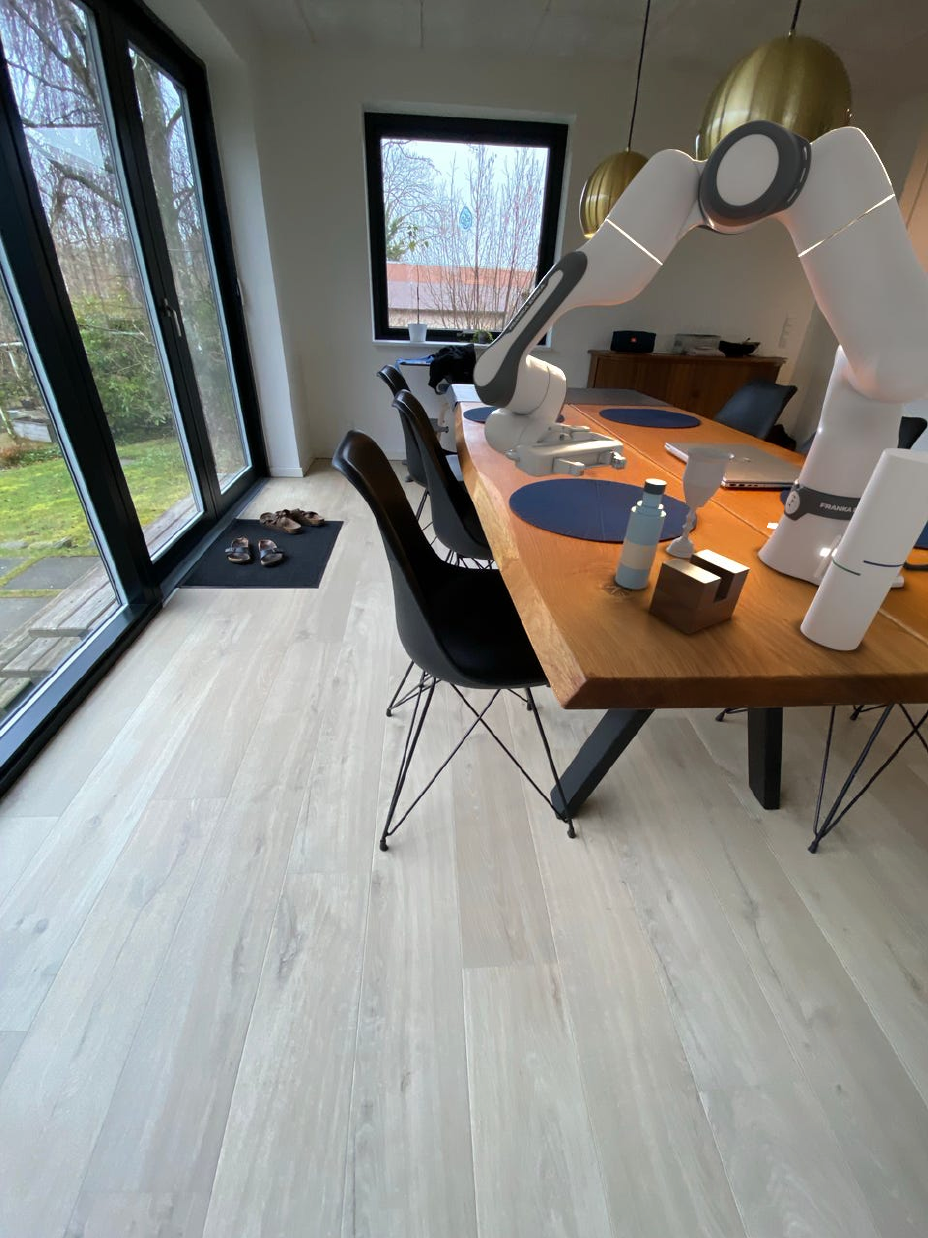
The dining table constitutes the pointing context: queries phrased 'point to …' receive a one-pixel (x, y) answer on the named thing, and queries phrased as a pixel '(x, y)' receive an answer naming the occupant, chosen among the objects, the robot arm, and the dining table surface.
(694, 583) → the block
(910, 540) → the cylindrical container
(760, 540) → the dining table surface
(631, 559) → the bottle
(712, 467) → the chalice
